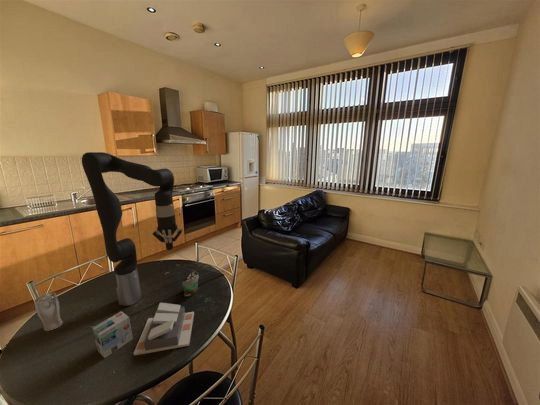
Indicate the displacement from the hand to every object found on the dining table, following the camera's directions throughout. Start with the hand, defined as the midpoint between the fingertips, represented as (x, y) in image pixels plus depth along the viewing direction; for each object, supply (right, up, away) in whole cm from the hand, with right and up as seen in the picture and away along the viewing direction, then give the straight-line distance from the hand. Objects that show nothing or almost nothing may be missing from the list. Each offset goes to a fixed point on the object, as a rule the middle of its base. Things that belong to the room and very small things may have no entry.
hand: (170, 249), depth 102 cm
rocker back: (+1, -26, -4) cm, 26 cm away
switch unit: (+2, -34, -8) cm, 35 cm away
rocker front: (+4, -29, -15) cm, 33 cm away
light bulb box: (-16, -36, -14) cm, 41 cm away
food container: (+5, -27, +19) cm, 34 cm away
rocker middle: (+2, -28, -9) cm, 29 cm away
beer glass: (-49, -33, -5) cm, 60 cm away
